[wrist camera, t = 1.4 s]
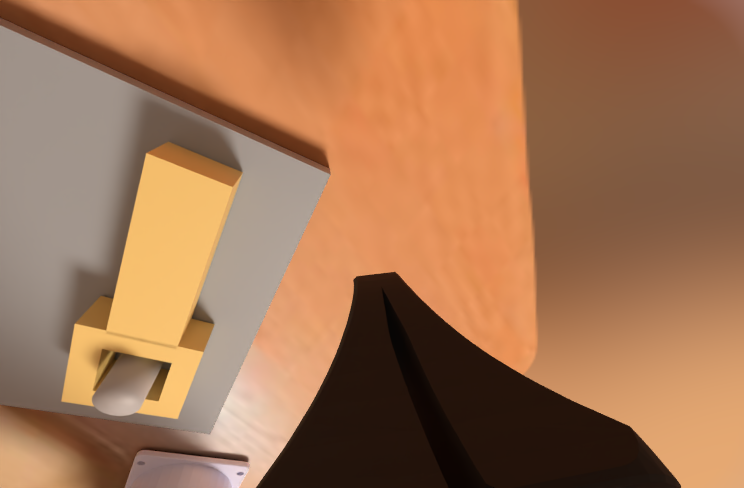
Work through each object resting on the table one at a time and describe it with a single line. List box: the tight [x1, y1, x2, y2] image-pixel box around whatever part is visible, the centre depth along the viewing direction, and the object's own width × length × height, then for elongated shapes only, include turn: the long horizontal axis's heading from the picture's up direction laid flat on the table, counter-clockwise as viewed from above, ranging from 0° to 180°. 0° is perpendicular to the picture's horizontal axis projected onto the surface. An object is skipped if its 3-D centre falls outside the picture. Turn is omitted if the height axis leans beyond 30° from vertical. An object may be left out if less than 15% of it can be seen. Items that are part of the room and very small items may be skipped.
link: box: [61, 142, 243, 419], centre depth 16 cm, size 14×5×2 cm, turn 152°
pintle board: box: [0, 18, 331, 434], centre depth 14 cm, size 20×17×6 cm
